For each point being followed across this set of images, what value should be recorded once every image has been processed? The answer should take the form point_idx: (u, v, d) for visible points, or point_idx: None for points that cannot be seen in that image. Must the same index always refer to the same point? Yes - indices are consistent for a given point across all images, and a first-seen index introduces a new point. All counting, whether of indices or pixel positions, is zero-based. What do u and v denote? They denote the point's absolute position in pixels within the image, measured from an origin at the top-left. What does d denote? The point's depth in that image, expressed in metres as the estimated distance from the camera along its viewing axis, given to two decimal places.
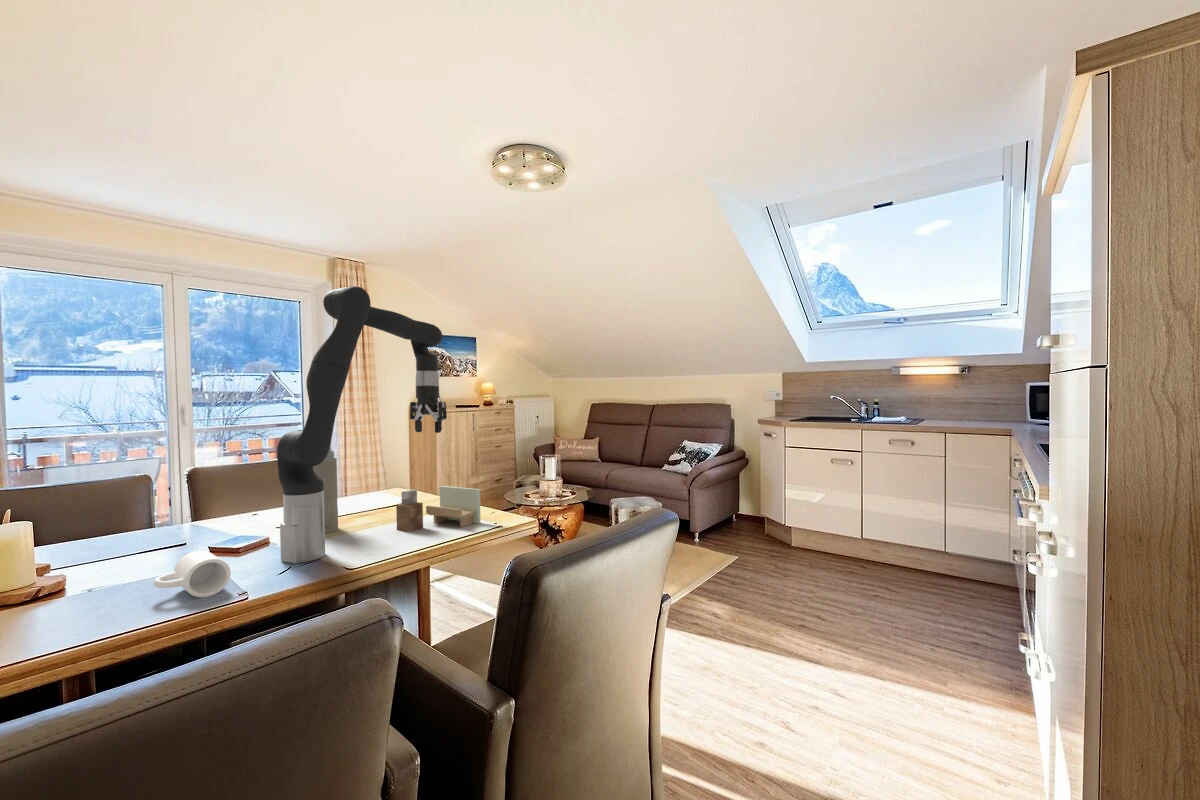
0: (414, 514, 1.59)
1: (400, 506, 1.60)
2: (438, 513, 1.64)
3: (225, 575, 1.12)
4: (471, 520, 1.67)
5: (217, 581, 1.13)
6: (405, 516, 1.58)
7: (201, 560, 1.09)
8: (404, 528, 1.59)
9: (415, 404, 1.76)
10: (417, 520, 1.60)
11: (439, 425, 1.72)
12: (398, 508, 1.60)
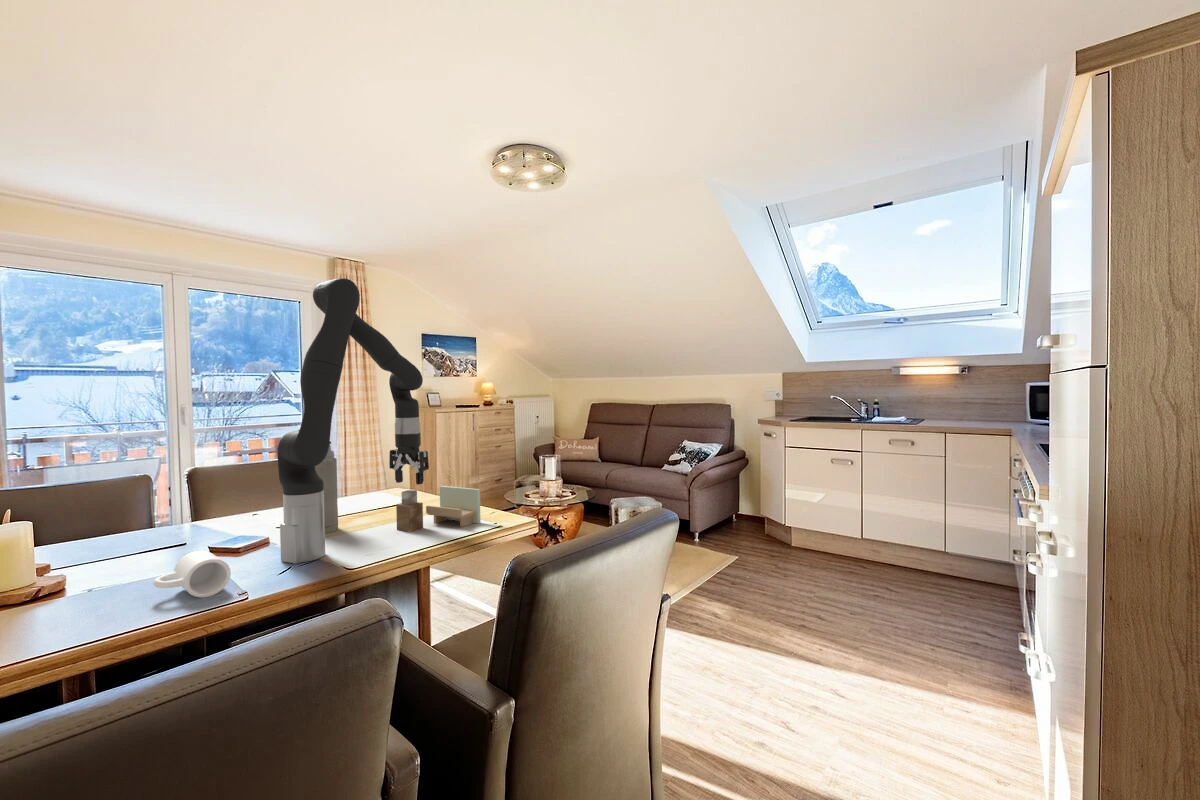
0: (414, 514, 1.59)
1: (400, 506, 1.60)
2: (438, 513, 1.64)
3: (225, 575, 1.12)
4: (471, 520, 1.67)
5: (217, 581, 1.13)
6: (405, 516, 1.58)
7: (201, 560, 1.09)
8: (404, 528, 1.59)
9: (395, 452, 1.63)
10: (417, 520, 1.60)
11: (421, 476, 1.59)
12: (398, 508, 1.60)
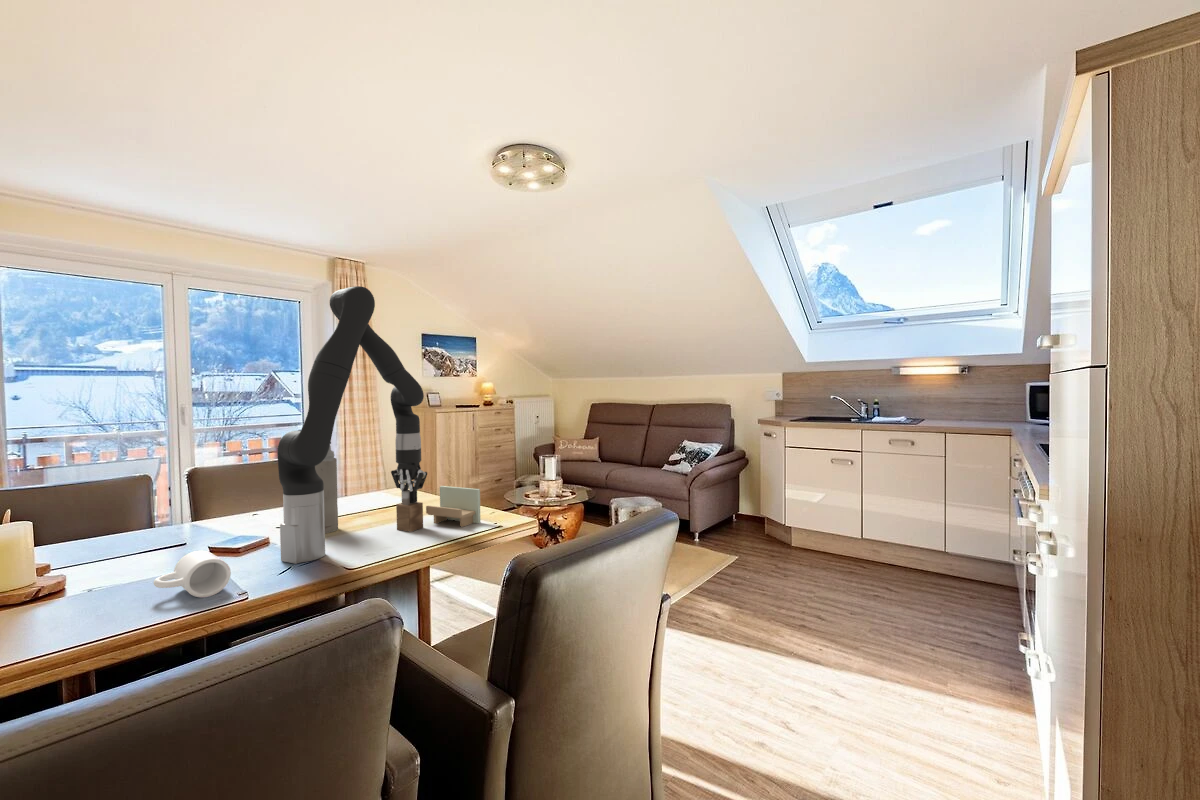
0: (414, 514, 1.59)
1: (400, 506, 1.60)
2: (438, 513, 1.64)
3: (225, 575, 1.12)
4: (471, 520, 1.67)
5: (217, 581, 1.13)
6: (405, 516, 1.58)
7: (201, 560, 1.09)
8: (404, 528, 1.59)
9: (396, 471, 1.63)
10: (417, 520, 1.60)
11: (414, 495, 1.60)
12: (398, 508, 1.60)
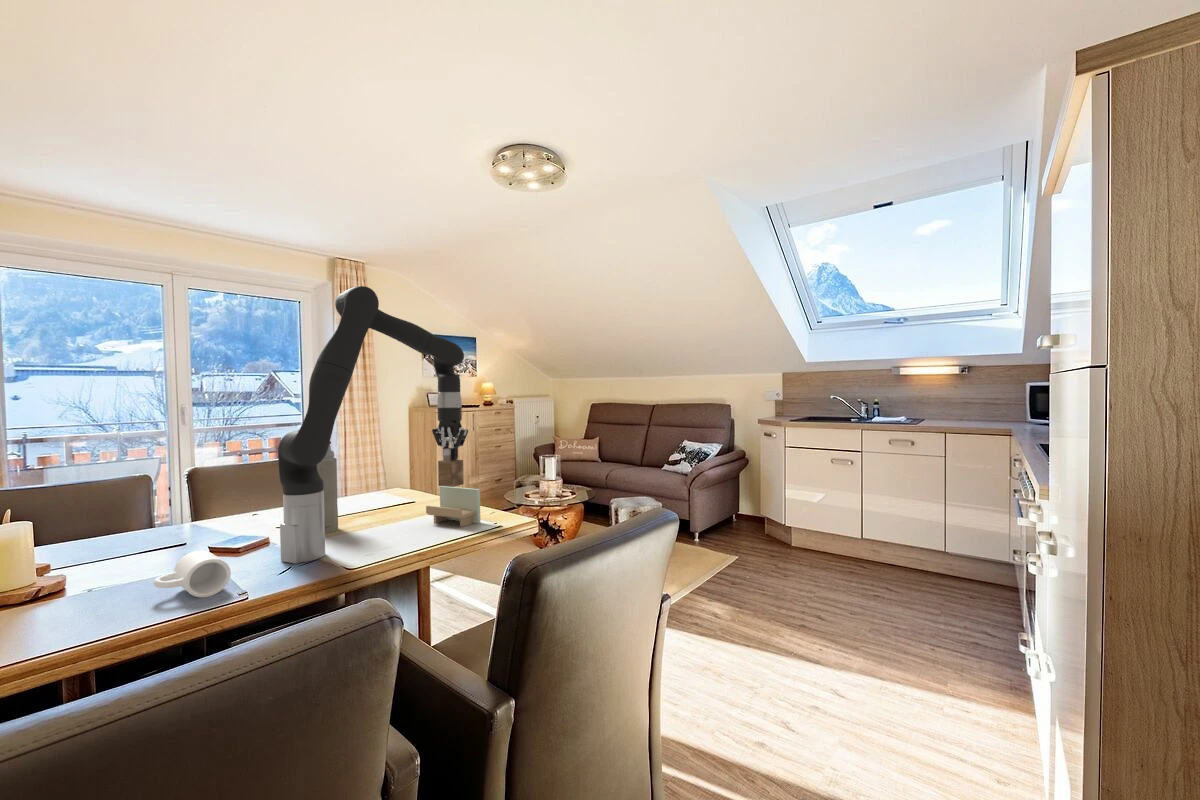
0: (456, 470, 1.65)
1: (442, 462, 1.65)
2: (438, 513, 1.64)
3: (225, 575, 1.12)
4: (471, 520, 1.67)
5: (217, 581, 1.13)
6: (447, 472, 1.64)
7: (201, 560, 1.09)
8: (446, 483, 1.64)
9: (437, 429, 1.68)
10: (458, 477, 1.66)
11: (455, 452, 1.65)
12: (440, 464, 1.65)
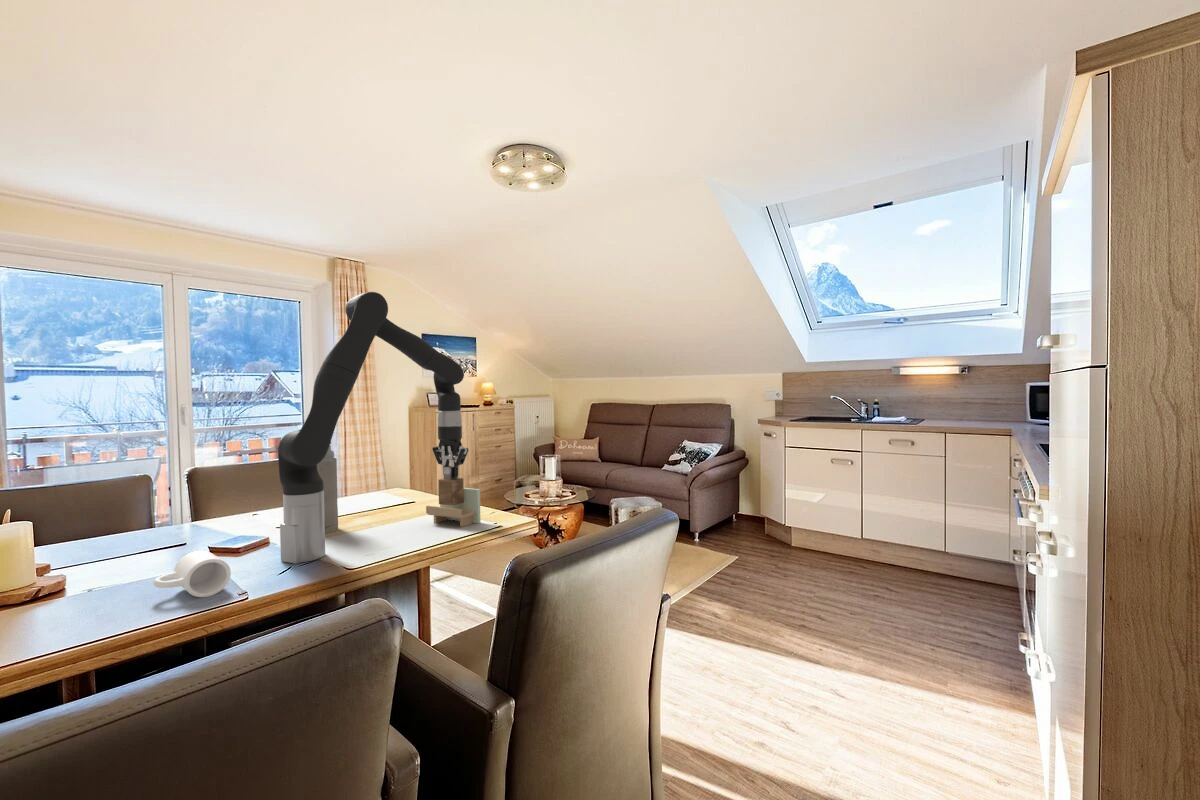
0: (456, 488, 1.65)
1: (442, 481, 1.65)
2: (438, 513, 1.64)
3: (225, 575, 1.12)
4: (471, 520, 1.67)
5: (217, 581, 1.13)
6: (447, 490, 1.64)
7: (201, 560, 1.09)
8: (446, 502, 1.64)
9: (437, 448, 1.68)
10: (458, 495, 1.66)
11: (456, 470, 1.65)
12: (441, 483, 1.65)
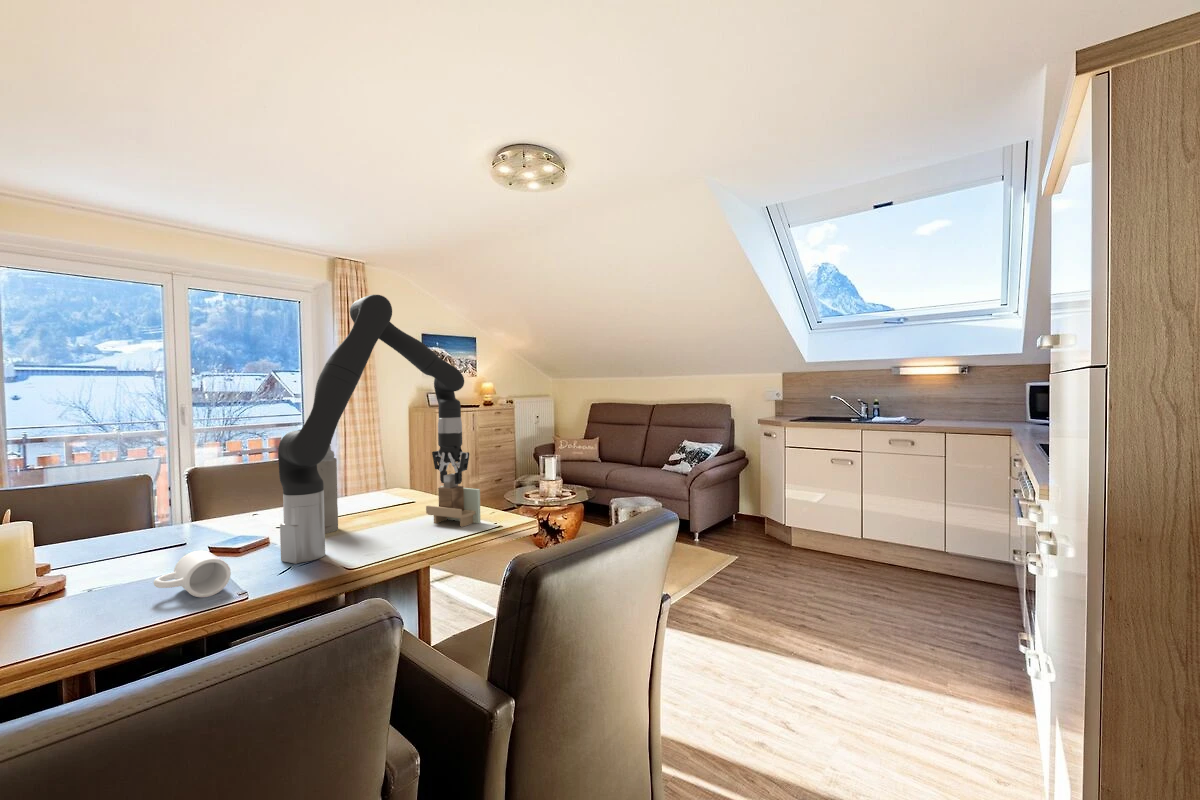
0: (456, 497, 1.65)
1: (442, 489, 1.65)
2: (438, 513, 1.64)
3: (225, 575, 1.12)
4: (471, 520, 1.67)
5: (217, 581, 1.13)
6: (447, 499, 1.64)
7: (201, 560, 1.09)
8: None
9: (437, 453, 1.68)
10: (458, 503, 1.66)
11: (459, 476, 1.65)
12: (441, 491, 1.65)
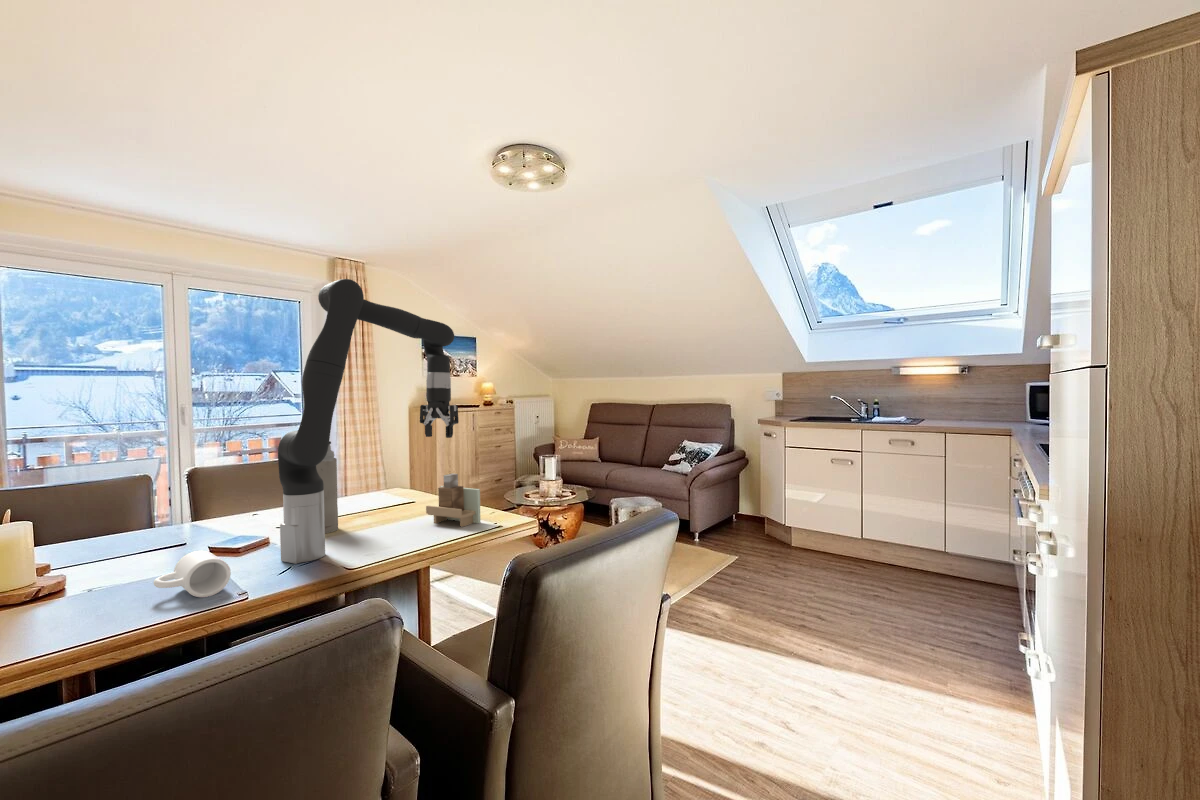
0: (456, 497, 1.65)
1: (442, 489, 1.65)
2: (438, 513, 1.64)
3: (225, 575, 1.12)
4: (471, 520, 1.67)
5: (217, 581, 1.13)
6: (447, 499, 1.64)
7: (201, 560, 1.09)
8: None
9: (425, 407, 1.67)
10: (458, 503, 1.66)
11: (450, 430, 1.63)
12: (441, 491, 1.65)
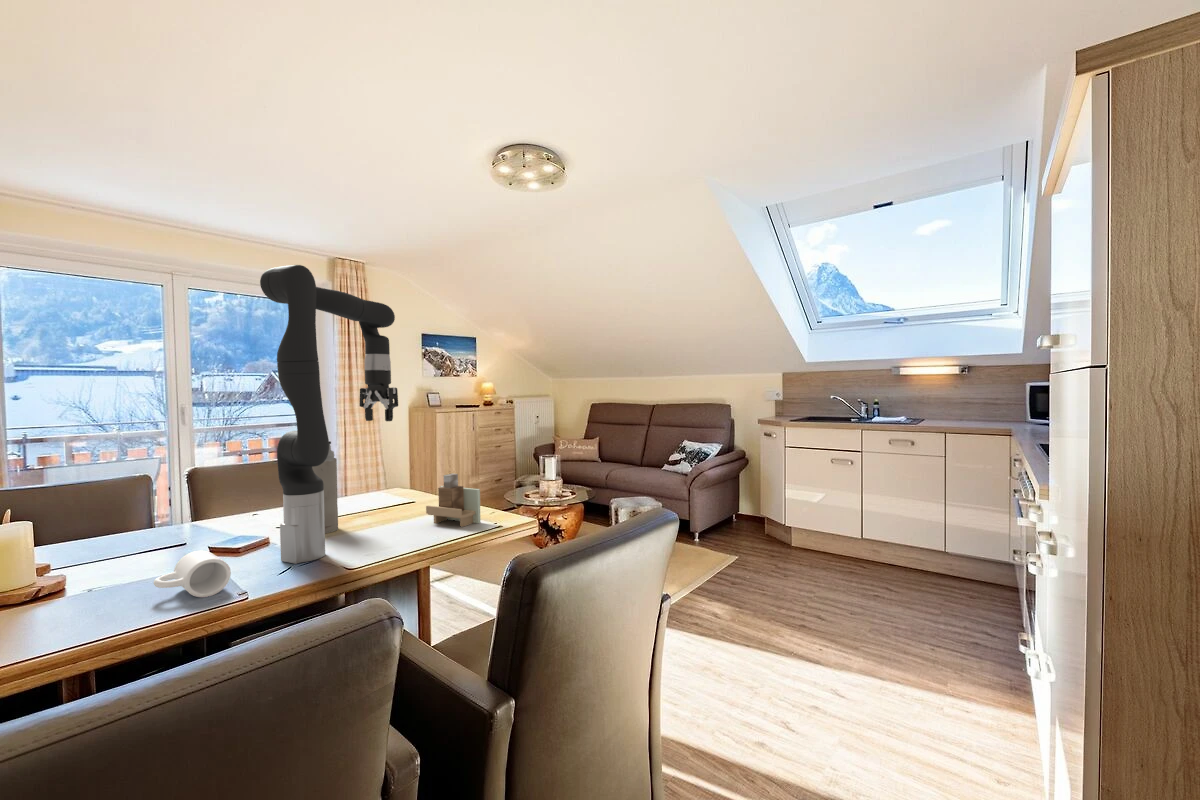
0: (456, 497, 1.65)
1: (442, 489, 1.65)
2: (438, 513, 1.64)
3: (225, 575, 1.12)
4: (471, 520, 1.67)
5: (217, 581, 1.13)
6: (447, 499, 1.64)
7: (201, 560, 1.09)
8: None
9: (365, 390, 1.62)
10: (458, 503, 1.66)
11: (390, 413, 1.58)
12: (441, 491, 1.65)
